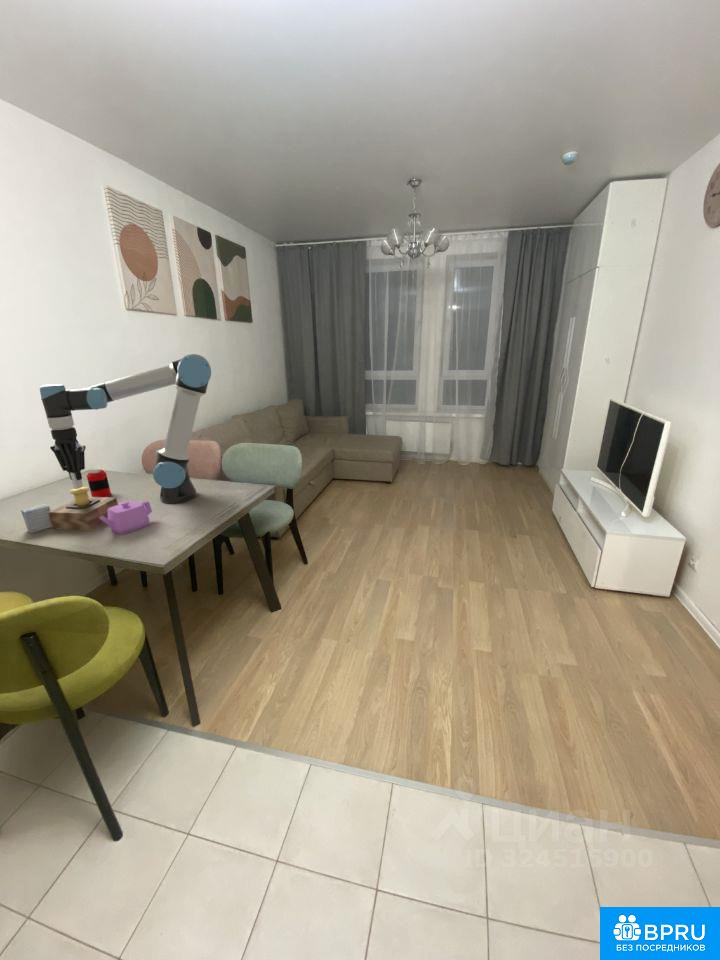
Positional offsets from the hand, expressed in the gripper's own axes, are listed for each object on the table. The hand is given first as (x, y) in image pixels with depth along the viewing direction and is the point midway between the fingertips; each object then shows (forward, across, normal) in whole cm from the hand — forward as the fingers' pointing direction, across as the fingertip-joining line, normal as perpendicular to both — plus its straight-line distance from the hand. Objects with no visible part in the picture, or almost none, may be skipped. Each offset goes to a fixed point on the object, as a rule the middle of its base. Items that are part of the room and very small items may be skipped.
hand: (78, 487), depth 155 cm
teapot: (+14, -21, +4) cm, 26 cm away
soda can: (+14, +15, -26) cm, 33 cm away
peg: (+9, 0, 0) cm, 9 cm away
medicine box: (+14, +13, +8) cm, 21 cm away
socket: (+14, 0, 0) cm, 14 cm away
